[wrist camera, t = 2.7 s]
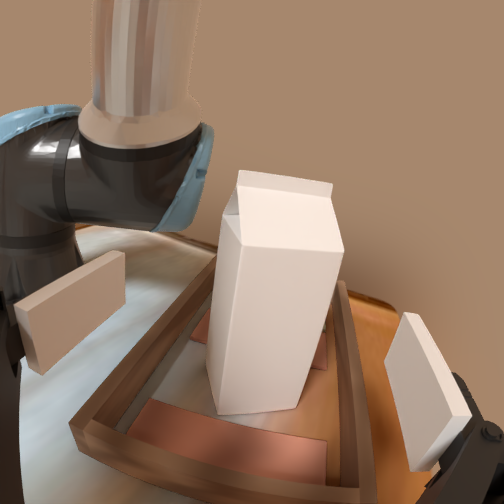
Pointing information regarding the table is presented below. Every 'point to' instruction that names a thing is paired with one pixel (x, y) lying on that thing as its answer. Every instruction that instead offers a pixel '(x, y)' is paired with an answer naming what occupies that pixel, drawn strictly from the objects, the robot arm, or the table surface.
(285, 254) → the milk carton
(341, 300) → the box
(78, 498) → the table surface
